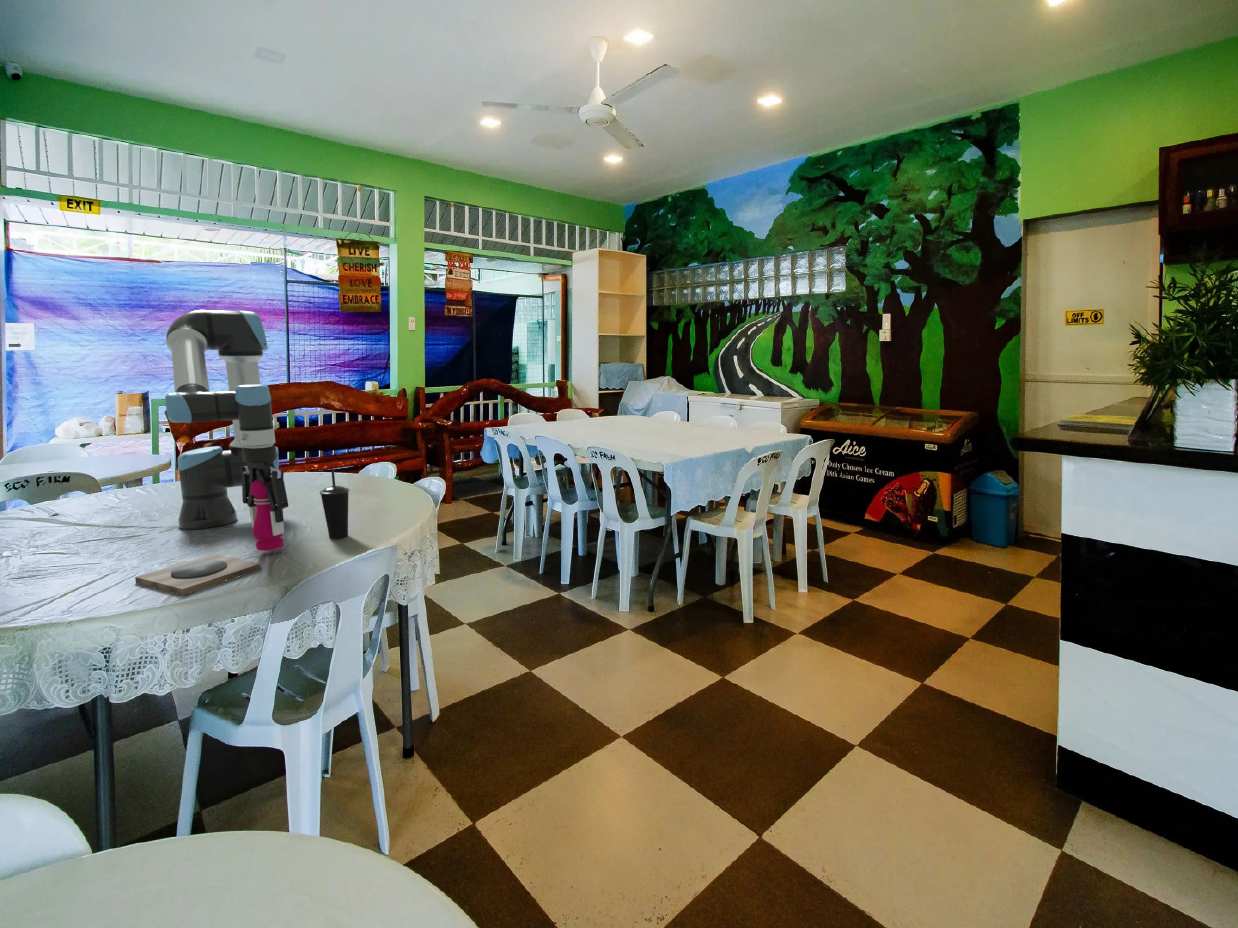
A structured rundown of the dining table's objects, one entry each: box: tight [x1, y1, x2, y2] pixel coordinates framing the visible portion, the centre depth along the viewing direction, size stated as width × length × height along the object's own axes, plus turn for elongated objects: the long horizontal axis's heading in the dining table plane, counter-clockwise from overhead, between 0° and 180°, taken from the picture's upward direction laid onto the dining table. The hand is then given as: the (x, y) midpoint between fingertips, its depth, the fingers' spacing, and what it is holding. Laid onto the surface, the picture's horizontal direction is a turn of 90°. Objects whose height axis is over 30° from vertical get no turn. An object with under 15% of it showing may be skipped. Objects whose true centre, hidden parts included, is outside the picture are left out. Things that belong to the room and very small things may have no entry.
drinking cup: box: [319, 467, 350, 540], centre depth 174 cm, size 8×8×20 cm
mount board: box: [134, 553, 262, 596], centre depth 145 cm, size 18×18×2 cm
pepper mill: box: [250, 480, 285, 552], centre depth 160 cm, size 7×7×20 cm
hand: (268, 531), depth 161 cm, fingers closed on pepper mill, 7 cm apart
